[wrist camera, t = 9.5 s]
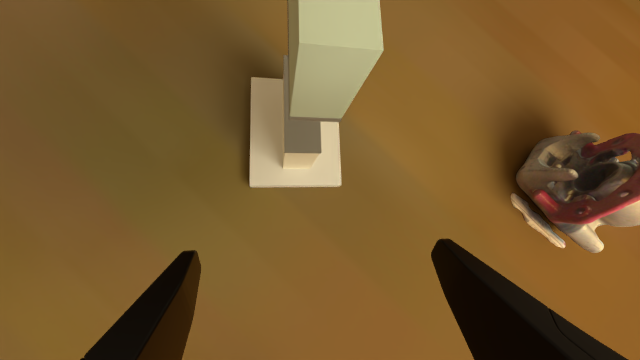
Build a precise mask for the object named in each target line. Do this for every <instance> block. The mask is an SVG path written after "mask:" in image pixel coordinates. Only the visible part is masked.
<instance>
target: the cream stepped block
mask: <svg viewBox="0 0 640 360" xmlns="http://www.w3.org/2000/svg"><path fill="white" fill-rule="evenodd" d="M339 186H341V165H340V143H339V122H321V121H295V120H289V90H288V55H284V73H283V79H273V78H257V77H251V124H250V187H339Z"/></svg>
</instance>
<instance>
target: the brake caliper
mask: <svg viewBox="0 0 640 360" xmlns="http://www.w3.org/2000/svg"><path fill="white" fill-rule="evenodd" d="M599 139H600V136H599V135H597V134H595V133H583V134H582V133H580V132H579V131H573V132H571V134H570V135H567V136H555V137H551V138H545V139H543V140H541V141H540V142H539V143H537V145H536V146H535V147H534V149H533V150H532V151H531V153H530V155H529V156H528V158H527V160H526V162H525V163H524V165H523V166H522V167H521V168H520V169H519V171H518V172H517V174H516V181H517V183H518V185H519V187H520V188H521V189H522V190H523V191H524V192H525V193H526V194H527V195H528V196H529V197H530V198H531V200H532V201H533V202H534V203H535V204H536V205H537V206H538V207H539V209H541V210H542V211H543V213H544V214H545V215H546V217H547V218H548V219H549V220H550V221H551V222H552V223H554V224H555V226H556V227H557V228H558V229H559V230H560V231H562V232H563V233H565V234H566V235H568V236H569V237H570V238H571V239H572V240H573V241H574V242H576V243H577V244H578V245H579V246H581V247H582V248H584V249H585V250H587V251H590V252H592V253H598V252H600V251H602V250H603V247H604V245H603V243H602V242H601V241H600V240H599V238H598V236H597V235H596V233H595V231H594V230H595V228H596V227H597V226H600V225H611V226H617V227H630V226H636V225H640V134H637V133H629V134H624V135H622V136H619V137H616V138H613V139H610V140H608V141H606V142H603V143H600V144H597V145H593V143H592V142H596V141H598V140H599ZM628 151H630V152H631V154H632V159H631V160H630V161H624V162H619V161H618V159H617V158H615V157H616V156H620V155H624V154H626V153H627V152H628ZM636 160H637V162H638V163H637V162H636ZM511 202H512V205H513V207H514V208H517V209H519V210H520V211H521V212H522V214H523V216H524V220H525V221H526V222H527V223H528V224H529V225H530V226H531V227H532V228H534V229H535V230H536V231H538V232H540V233H541V234H542V235H544V236H545V237H546V238H547V239H548V240H549V241H550V242H551V243H553V244H554V245H555V246H558V247H561V248H564V247H565V242H564V241H563V240H562V239H561V238H560V237H559V236H558V235H557V234H555V233H554V232H553V231H552V230H551V228H550V226H549V224H547V223H546V222H545V221H544V220H543V219H542V218H541V216H540V215H539V214H537V213H535V212H533V211H532V210H531V209H530V208H529V206H528V203H527V202H526V201H525V200H523V199H522V198H520V197H519V196H517V195H516V194H515V193H512V195H511Z"/></svg>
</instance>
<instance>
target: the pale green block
mask: <svg viewBox="0 0 640 360" xmlns="http://www.w3.org/2000/svg"><path fill="white" fill-rule="evenodd" d="M287 1H288V90H289V120H295V121H321V122H340V121H341V119H342V117H343V115H344V113H345V112H346V110H347V109H348V107H349V105H350V104H351V102H352V100H353V99H354V97H355V96H356V94H357V92H358V91H359V89H360V88H361V86H362V84H363V83H364V81H365V80H366V78H367V76H368V75H369V73H370V71H371V70H372V68H373V67H374V65H375V63H376V62H377V60H378V59H379V57H380V55H381V54H382V52H383V38H382V26H381V13H380V1H379V0H287Z"/></svg>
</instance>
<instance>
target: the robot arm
mask: <svg viewBox="0 0 640 360" xmlns="http://www.w3.org/2000/svg"><path fill="white" fill-rule="evenodd" d="M431 258H432V261H433V264H434V267H435V270H436V273H437V275H438V278H439V281H440V284H441V287H442V290H443V292H444V295H445V297H446V299H447V302H448V304H449V306H450V308H451V310H452V312H453V315H454V317H455V319H456V321H457V323H458V325H459V327H460V330H461V332H462V334H463V336H464V338H465V340H466V343H467V345H468V347H469V349H470V351H471V353H472V356H473V358H474V360H628V359H626V358H625V357H623V356H621V355H620V354H618V353H617V352H615V351H613V350H612V349H610V348H609V347H607V346H605V345H604V344H602V343H601V342H599V341H598V340H596V339H594V338H593V337H591V336H590V335H588V334H587V333H585V332H584V331H582V330H580V329H579V328H578V327H576V326H575V325H573V324H572V323H570V322H569V321H567V320H566V319H564V318H563V317H561V316H560V315H558V314H557V313H556V312H554V311H553V310H551V309H549V308H548V307H547V306H545V305H544V304H543V303H541V302H540V301H538V300H537V299H535V298H534V297H532V296H531V295H530V294H528V293H527V292H525V291H524V290H522V289H521V288H520V287H518V286H517V285H515V284H514V283H512V282H511V281H509V280H508V279H507V278H505V277H504V276H502V275H501V274H499V273H498V272H497V271H495V270H494V269H492V268H491V267H489V266H488V265H486V264H485V263H484V262H482V261H481V260H479V259H478V258H476V257H475V256H473V255H472V254H471V253H469V252H468V251H466V250H465V249H463V248H462V247H461V246H459V245H458V244H456V243H455V242H453V241H452V240H450V239H439V240H438V241H437V242H436V244H435V246H434V248H433V250H432V252H431ZM200 274H201V264H200V261H199V257H198V253H197V251H195V250H191V251H183V252H182V253H181V254H180V255H179V256H178V257H177V258H176V259H175V260H174V261H173V262H172V263H171V264H170V265H169V266H168V267H167V268H166V269H165V271H164V272H163V273H162V274H161V275H160V276H159V277H158V278H157V279H156V280H155V281H154V282H153V283H152V284H151V285H150V286H149V287H148V289H147V290H146V291H145V292H144V293H143V294H142V295H141V296H140V297H139V298H138V299H137V300H136V301H135V302H134V303H133V304H132V306H131V307H130V308H129V309H128V310H127V311H126V312H125V313H124V314H123V315H122V316H121V317H120V318H119V319H118V320H117V321H116V322H115V324H114V325H113V326H112V327H111V328H110V329H109V330H108V331H107V332H106V333H105V334H104V335H103V336H102V337H101V338H100V339H99V341H98V342H97V343H96V344H95V345H94V346H93V347H92V348H91V349H90V350H89V351H88V352H87V353H86V354H85V356H84V358H82V359H80V360H182V356H183V353H184V349H185V346H186V342H187V338H188V335H189V331H190V328H191V324H192V320H193V316H194V310H195V304H196V298H197V292H198V286H199V280H200Z"/></svg>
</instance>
